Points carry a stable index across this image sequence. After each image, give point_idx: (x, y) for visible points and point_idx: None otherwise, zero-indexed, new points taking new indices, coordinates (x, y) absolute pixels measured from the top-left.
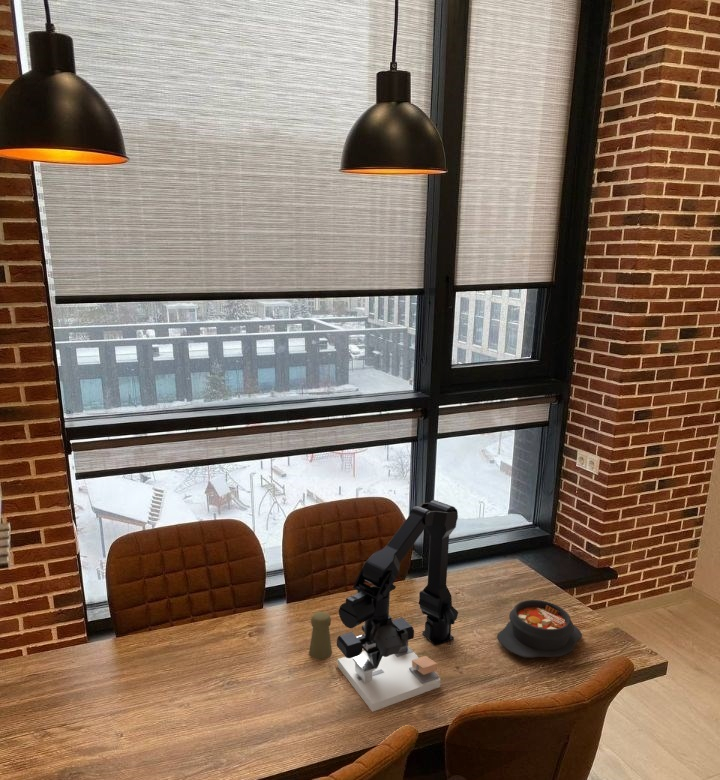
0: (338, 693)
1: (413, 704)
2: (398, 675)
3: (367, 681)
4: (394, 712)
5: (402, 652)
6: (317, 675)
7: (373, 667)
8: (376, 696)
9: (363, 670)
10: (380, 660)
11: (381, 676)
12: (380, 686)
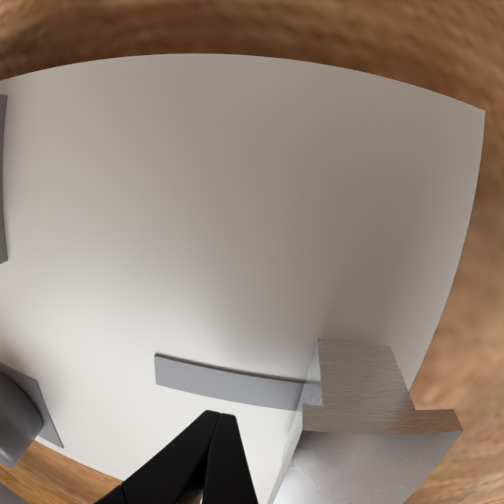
0: (475, 367)
1: (152, 14)
2: (77, 261)
3: (366, 347)
4: (321, 12)
5: (7, 379)
6: (429, 475)
7: (320, 445)
8: (411, 156)
9: (451, 446)
10: (152, 460)
11: (199, 334)
12: (289, 243)
